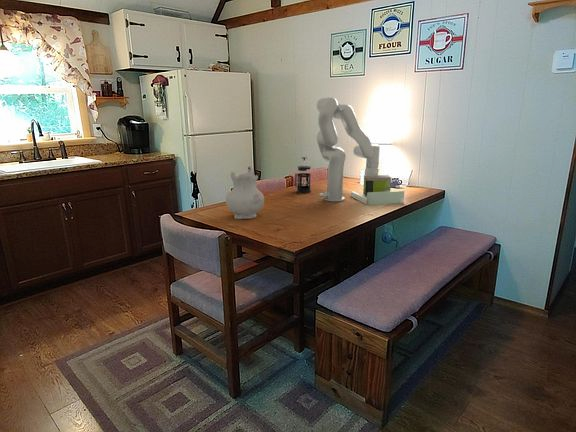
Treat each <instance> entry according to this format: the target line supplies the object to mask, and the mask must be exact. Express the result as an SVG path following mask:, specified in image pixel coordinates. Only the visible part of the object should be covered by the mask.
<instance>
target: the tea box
mask: <svg viewBox="0 0 576 432" xmlns="http://www.w3.org/2000/svg"><path fill="white" fill-rule="evenodd" d="M391 186H392V177H391V176H389V174H378V175H365V174H364V175H363V190H362V191H363V192H362V193H363V195H362V196H364V197H367V193H369V192H385V191H392V189H391Z"/></svg>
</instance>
